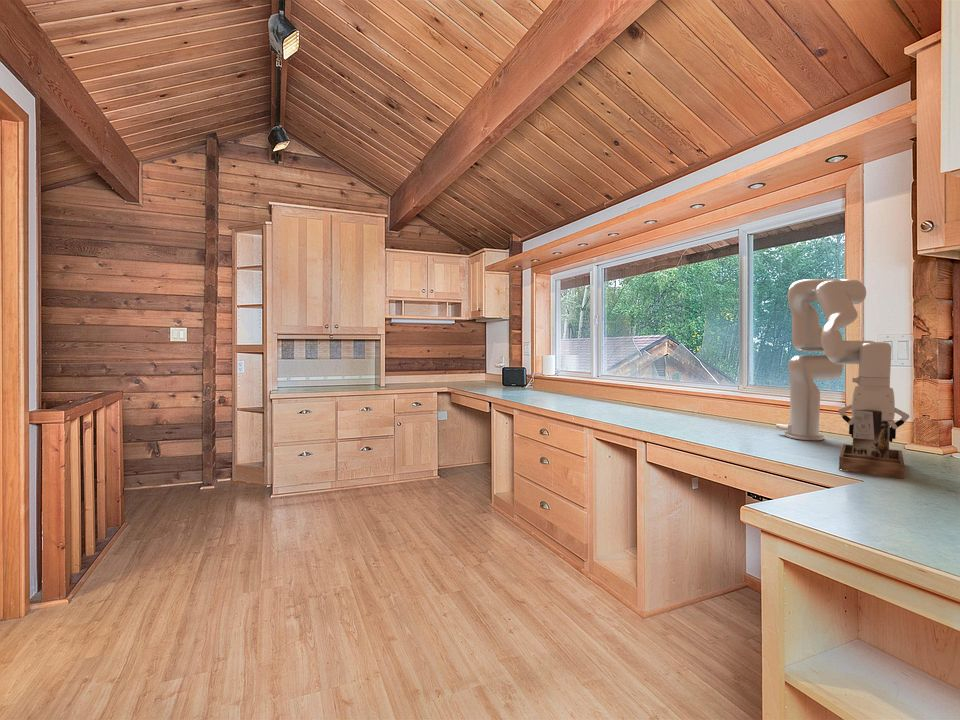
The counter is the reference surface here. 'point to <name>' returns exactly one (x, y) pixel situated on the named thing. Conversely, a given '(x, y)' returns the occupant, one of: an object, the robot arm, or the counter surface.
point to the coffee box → (870, 434)
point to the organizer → (872, 463)
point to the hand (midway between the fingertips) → (871, 438)
